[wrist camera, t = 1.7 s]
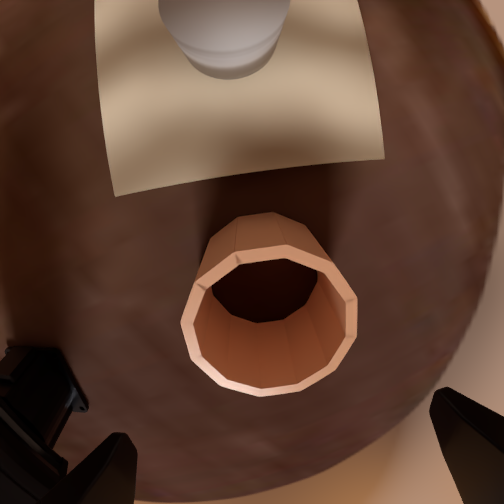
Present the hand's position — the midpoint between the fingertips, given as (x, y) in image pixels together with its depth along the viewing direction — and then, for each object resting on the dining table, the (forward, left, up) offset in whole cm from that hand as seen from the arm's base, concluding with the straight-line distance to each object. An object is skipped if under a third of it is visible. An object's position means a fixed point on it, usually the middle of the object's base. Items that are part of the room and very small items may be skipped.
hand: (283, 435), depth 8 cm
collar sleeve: (0, 0, -12) cm, 12 cm away
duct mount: (+13, 0, -12) cm, 17 cm away
